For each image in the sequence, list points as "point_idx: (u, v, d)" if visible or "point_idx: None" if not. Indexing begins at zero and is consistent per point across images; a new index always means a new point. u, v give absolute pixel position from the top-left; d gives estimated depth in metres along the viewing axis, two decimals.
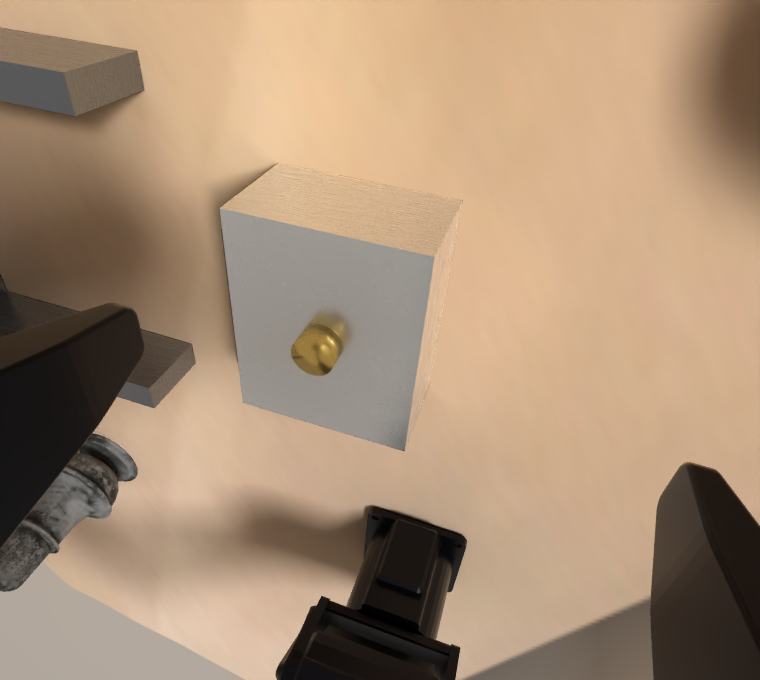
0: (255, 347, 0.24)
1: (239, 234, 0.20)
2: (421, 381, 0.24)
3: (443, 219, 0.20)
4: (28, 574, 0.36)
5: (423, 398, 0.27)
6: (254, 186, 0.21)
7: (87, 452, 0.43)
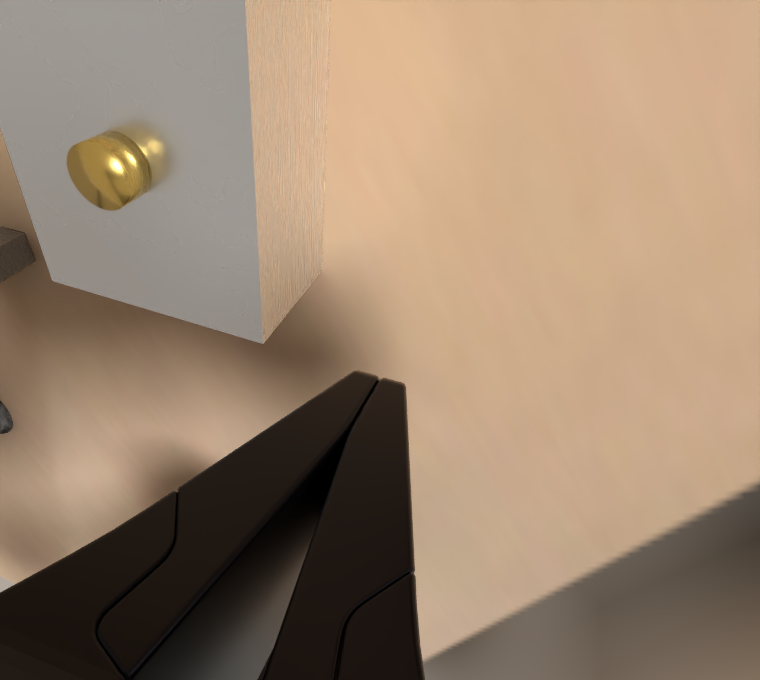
0: (43, 184, 0.16)
1: None
2: (285, 242, 0.17)
3: None
4: None
5: (306, 284, 0.20)
6: None
7: None
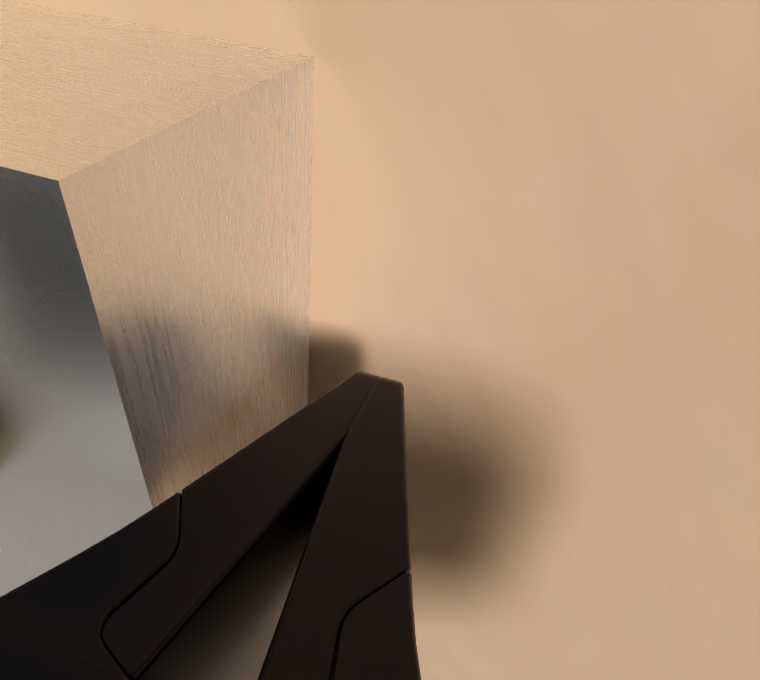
0: None
1: None
2: None
3: (216, 84, 0.06)
4: None
5: None
6: None
7: None
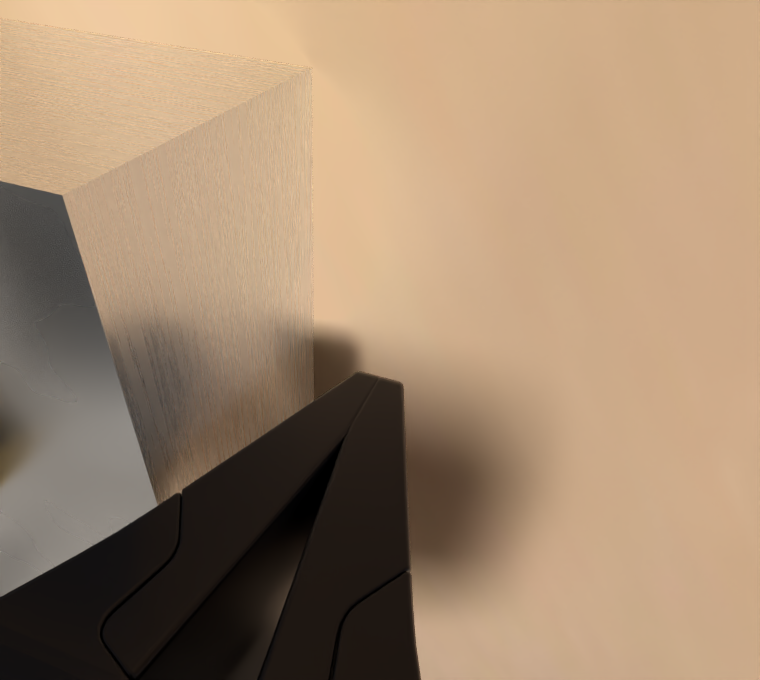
0: None
1: None
2: None
3: (216, 99, 0.06)
4: None
5: None
6: None
7: None
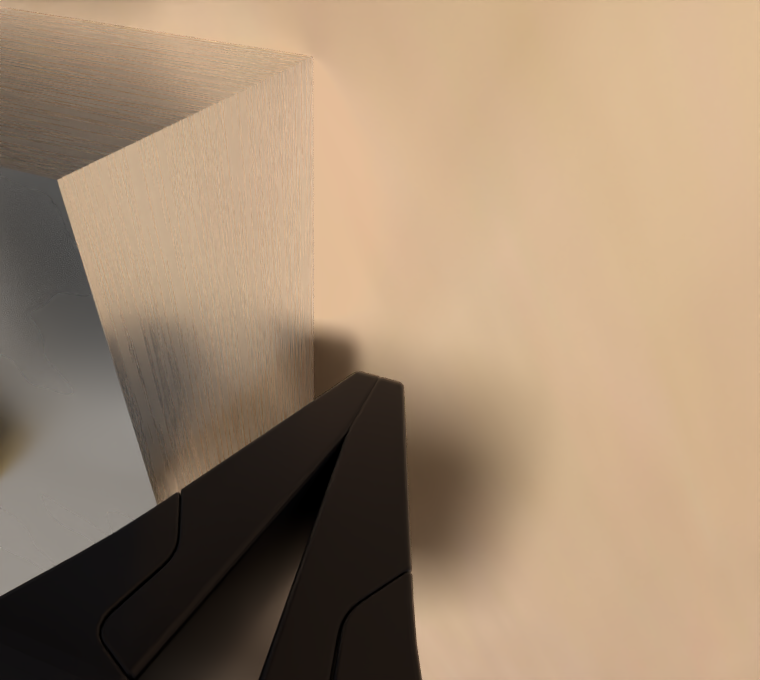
0: None
1: None
2: None
3: (215, 85, 0.06)
4: None
5: None
6: None
7: None
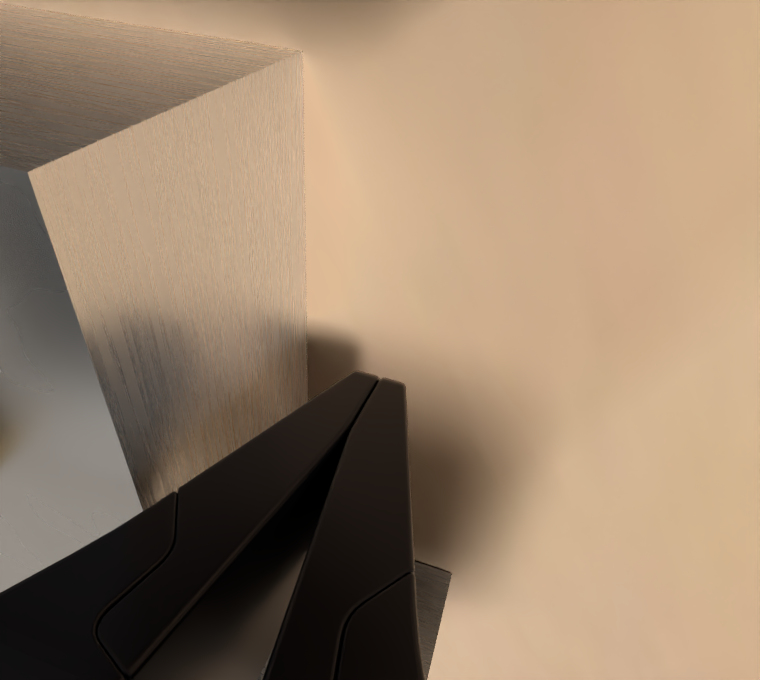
0: None
1: None
2: None
3: (200, 78, 0.06)
4: None
5: None
6: None
7: None
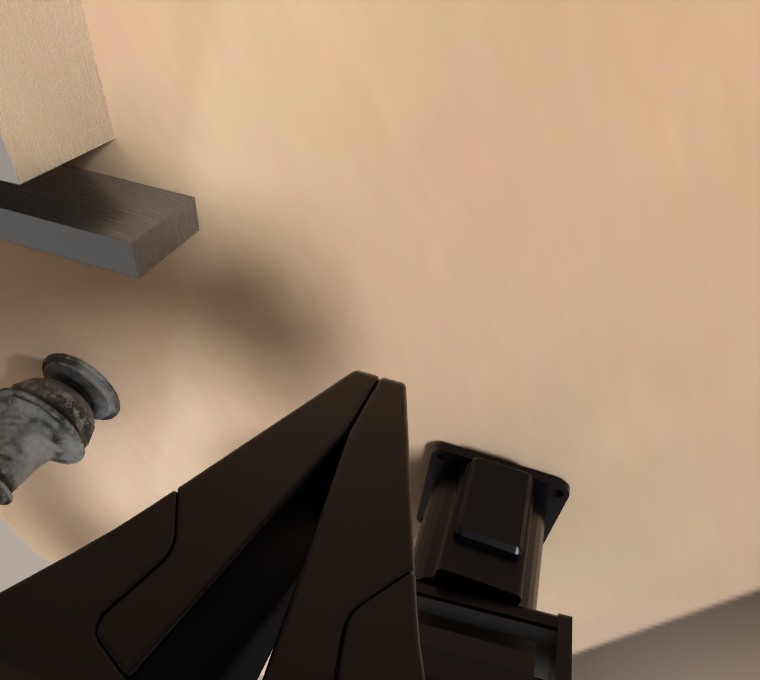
0: None
1: None
2: (30, 82, 0.18)
3: None
4: None
5: (86, 144, 0.21)
6: None
7: (54, 379, 0.33)
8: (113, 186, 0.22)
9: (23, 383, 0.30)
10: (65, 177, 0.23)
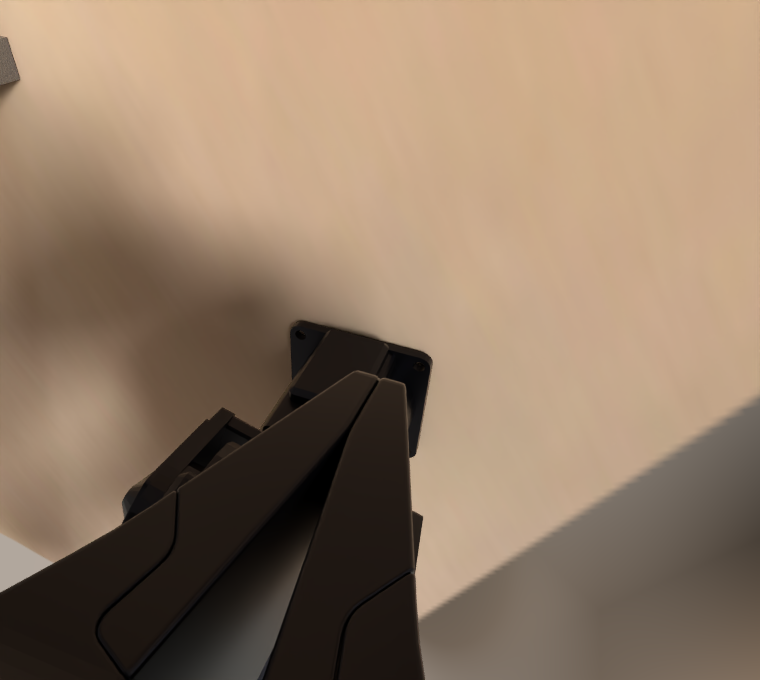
0: None
1: None
2: None
3: None
4: None
5: None
6: None
7: None
8: None
9: None
10: None
